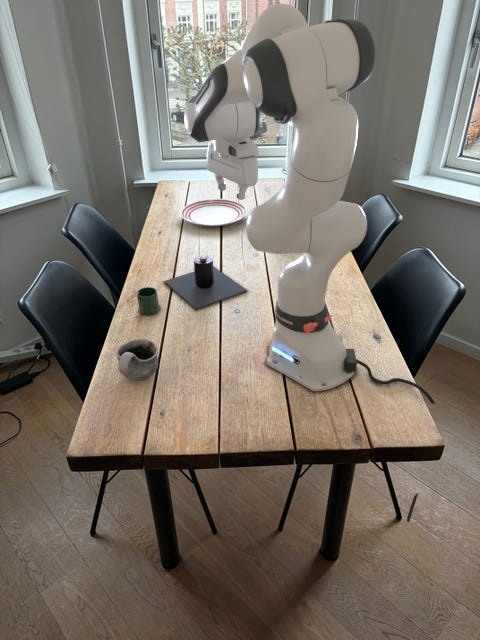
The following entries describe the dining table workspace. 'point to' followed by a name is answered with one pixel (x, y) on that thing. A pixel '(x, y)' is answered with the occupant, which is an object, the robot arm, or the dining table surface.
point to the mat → (208, 296)
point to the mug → (138, 359)
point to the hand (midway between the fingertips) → (231, 194)
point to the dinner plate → (213, 212)
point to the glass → (148, 301)
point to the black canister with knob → (204, 271)
